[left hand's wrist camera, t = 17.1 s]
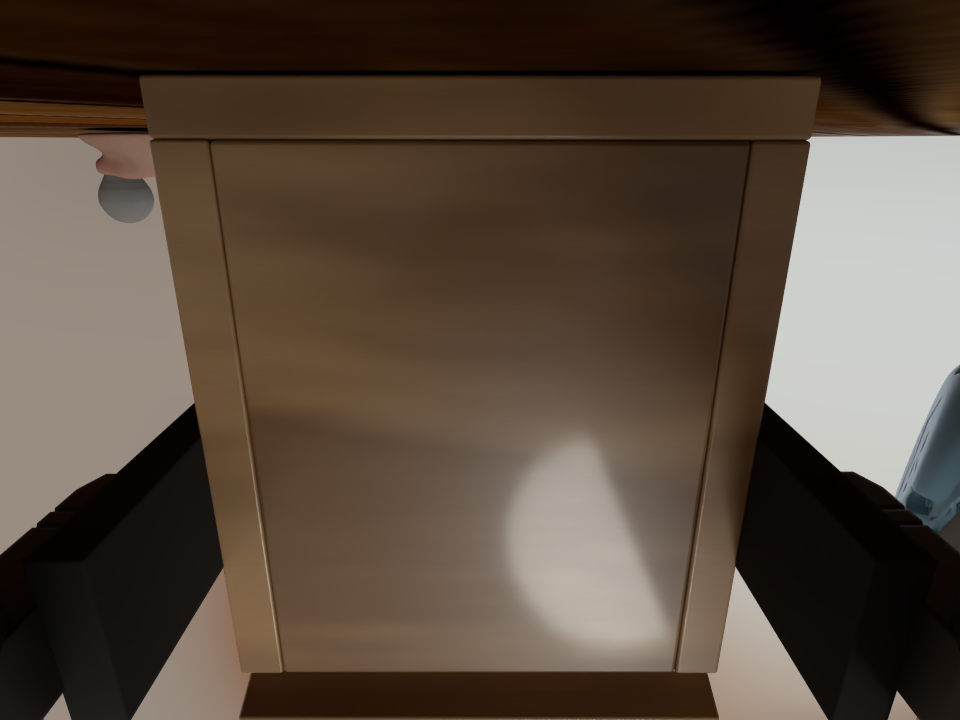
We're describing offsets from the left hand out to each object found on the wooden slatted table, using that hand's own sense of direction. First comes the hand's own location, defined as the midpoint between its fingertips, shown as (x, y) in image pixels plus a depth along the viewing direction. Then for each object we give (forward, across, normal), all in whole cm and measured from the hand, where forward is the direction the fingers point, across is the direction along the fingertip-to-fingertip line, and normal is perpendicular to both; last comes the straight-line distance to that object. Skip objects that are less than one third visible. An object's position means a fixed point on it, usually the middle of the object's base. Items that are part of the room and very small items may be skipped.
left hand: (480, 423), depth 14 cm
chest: (+5, 0, -7) cm, 8 cm away
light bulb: (+64, +44, -7) cm, 78 cm away
